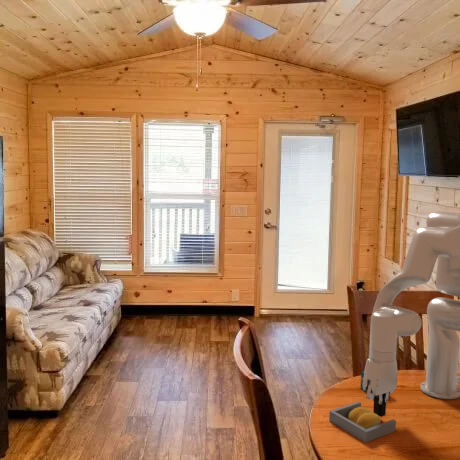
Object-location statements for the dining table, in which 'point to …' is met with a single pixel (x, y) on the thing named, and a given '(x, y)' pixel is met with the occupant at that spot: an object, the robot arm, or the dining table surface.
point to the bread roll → (364, 417)
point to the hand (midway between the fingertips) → (379, 414)
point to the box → (365, 435)
